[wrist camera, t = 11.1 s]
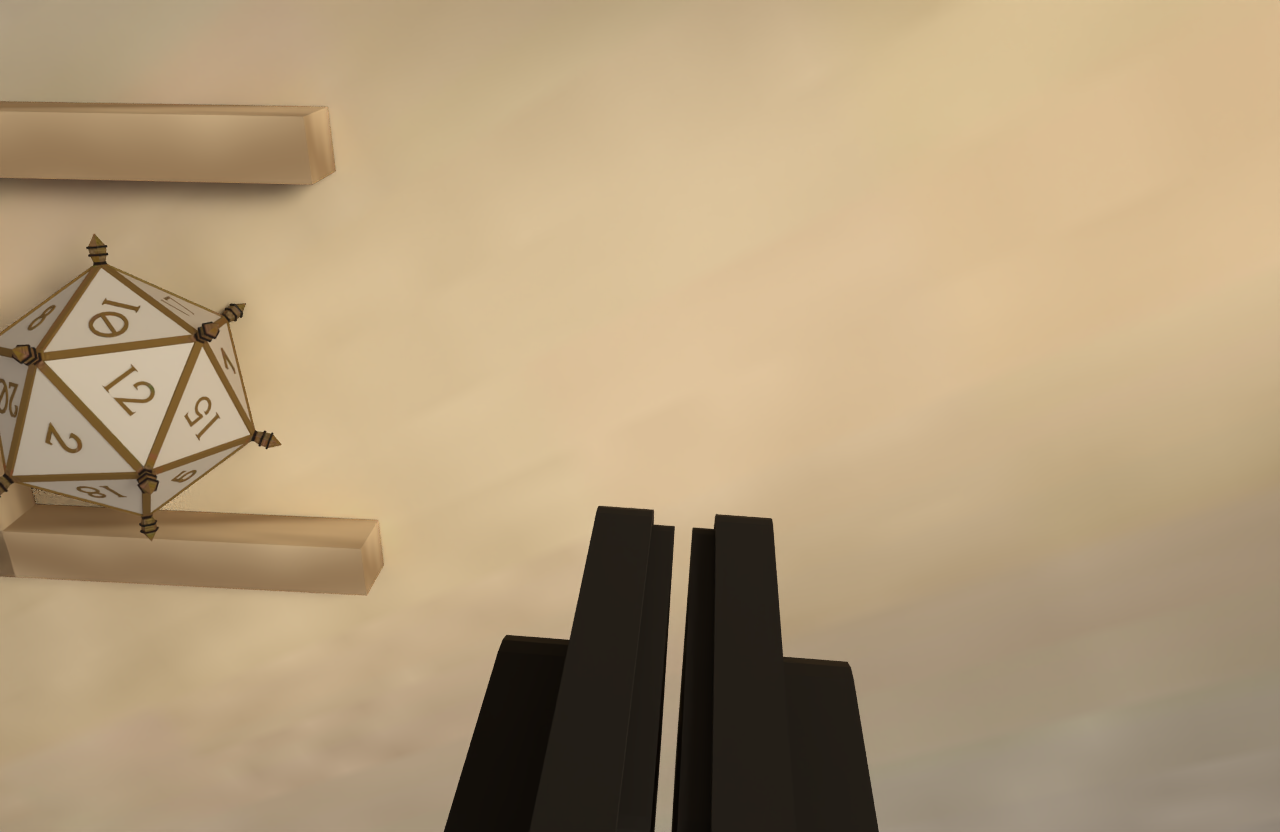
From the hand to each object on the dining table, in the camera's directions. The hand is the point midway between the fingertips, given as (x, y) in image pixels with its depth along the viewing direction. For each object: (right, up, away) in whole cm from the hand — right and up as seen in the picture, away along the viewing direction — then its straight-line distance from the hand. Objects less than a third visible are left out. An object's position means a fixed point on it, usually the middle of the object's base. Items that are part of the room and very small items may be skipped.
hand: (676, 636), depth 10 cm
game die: (-16, +5, +26) cm, 31 cm away
